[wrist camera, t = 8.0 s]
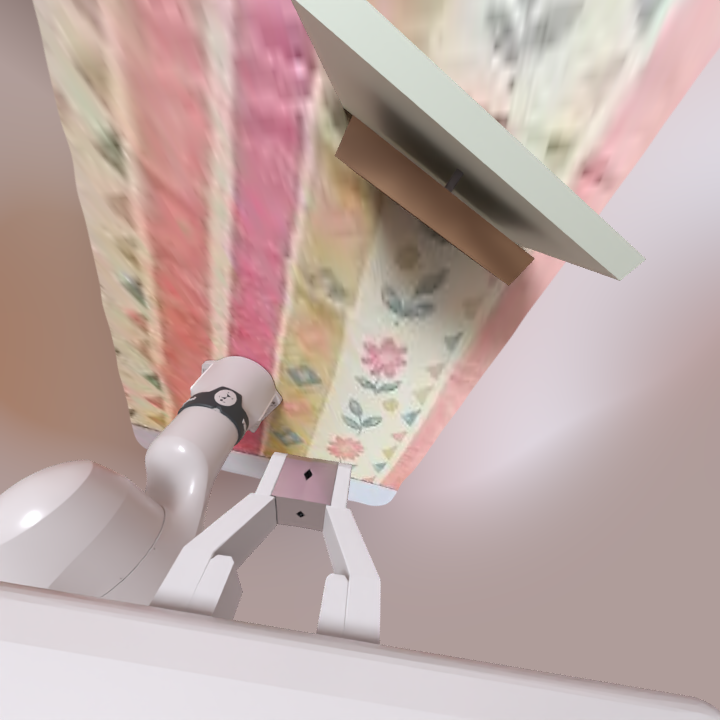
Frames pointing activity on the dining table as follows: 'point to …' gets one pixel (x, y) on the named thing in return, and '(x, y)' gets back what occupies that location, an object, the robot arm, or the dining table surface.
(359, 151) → the wooden picture frame
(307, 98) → the dining table surface
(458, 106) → the wall panel
